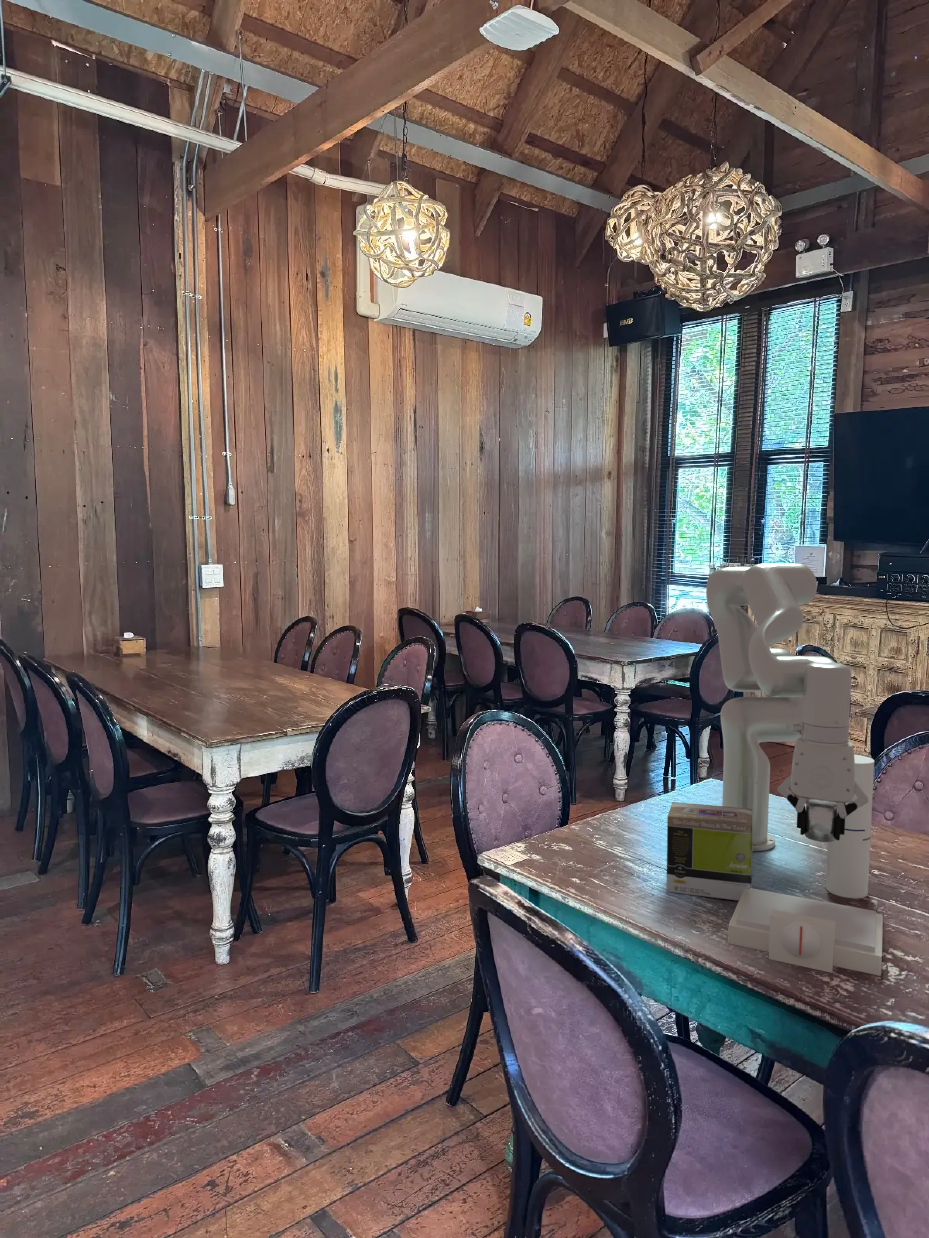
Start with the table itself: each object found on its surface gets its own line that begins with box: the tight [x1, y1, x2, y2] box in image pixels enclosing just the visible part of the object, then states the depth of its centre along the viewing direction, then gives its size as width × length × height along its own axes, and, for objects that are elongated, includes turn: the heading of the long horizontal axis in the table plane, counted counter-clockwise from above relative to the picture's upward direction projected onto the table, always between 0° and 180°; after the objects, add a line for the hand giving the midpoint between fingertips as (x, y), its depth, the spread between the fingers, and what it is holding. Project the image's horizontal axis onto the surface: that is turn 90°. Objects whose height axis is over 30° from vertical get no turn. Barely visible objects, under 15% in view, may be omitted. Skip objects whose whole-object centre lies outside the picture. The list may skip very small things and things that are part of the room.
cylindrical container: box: [825, 753, 875, 899], centre depth 153 cm, size 7×7×25 cm
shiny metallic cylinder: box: [804, 799, 837, 843], centre depth 146 cm, size 5×5×6 cm
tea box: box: [666, 801, 753, 902], centre depth 154 cm, size 15×10×15 cm
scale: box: [727, 887, 884, 977], centre depth 134 cm, size 22×19×7 cm
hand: (820, 834), depth 146 cm, fingers closed on shiny metallic cylinder, 5 cm apart
